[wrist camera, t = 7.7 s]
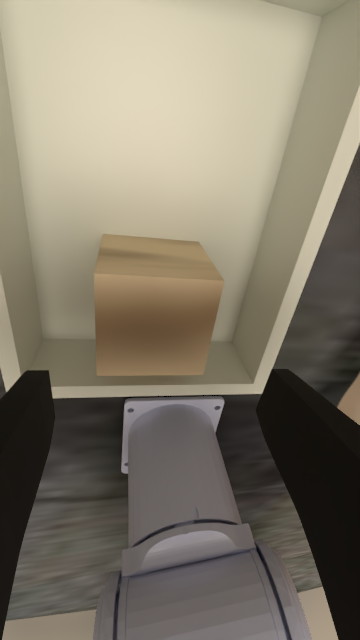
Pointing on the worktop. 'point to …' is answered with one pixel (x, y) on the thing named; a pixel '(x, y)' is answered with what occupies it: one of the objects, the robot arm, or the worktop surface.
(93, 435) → the worktop surface
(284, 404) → the robot arm
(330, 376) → the worktop surface
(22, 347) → the tote
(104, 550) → the worktop surface
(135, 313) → the beech cube
